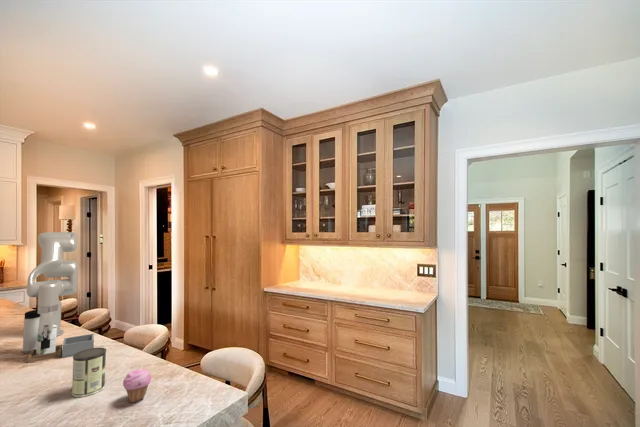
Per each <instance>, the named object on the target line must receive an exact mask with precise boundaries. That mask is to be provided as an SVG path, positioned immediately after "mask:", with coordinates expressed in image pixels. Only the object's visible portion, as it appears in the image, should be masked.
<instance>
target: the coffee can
mask: <svg viewBox="0 0 640 427" xmlns="http://www.w3.org/2000/svg"><path fill="white" fill-rule="evenodd" d="M106 353H107V348H105V347H94V348H90V349H86V350H82V351H79V352H77V353H75V354H74V355H73V356H72V380H71V381H72V382H71V383H72V386H71V388H72V389H71V395H72V397H74V398H81V397H82V398H83V397H88V396H92V395H94V394H97V393H99V392H100V391H103V390H104V388H105V387H106V357H107V356H106V355H107V354H106Z"/></svg>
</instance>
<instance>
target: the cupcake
mask: <svg viewBox="0 0 640 427" xmlns="http://www.w3.org/2000/svg"><path fill="white" fill-rule="evenodd" d="M122 381H123V382H122V387H124V389H125V390H126V394H127V398H128V400H129V402H130V403H136V402H138V401H140V400H143V399H144V397H146V393H147V390H148V386H149V384H151V381H152V375H151V373H150V371H149V370H147V369H144V368H143V369H142V368H141V369H134V370H132V371H129V372H128V374H126V377H124V379H123V380H122Z"/></svg>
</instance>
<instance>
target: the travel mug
mask: <svg viewBox="0 0 640 427" xmlns="http://www.w3.org/2000/svg"><path fill="white" fill-rule="evenodd" d="M23 317H24V318H23V320H24V321H23V334H22V335H23V337H22V339H23V340H22V353H23V354H30V352H31V350H33V349H36V347H37V334H38V326H39V320H40V314H38V308H36V309H35V310H34V309H33V310H29V311H26V312H24V316H23Z"/></svg>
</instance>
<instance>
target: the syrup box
mask: <svg viewBox="0 0 640 427" xmlns="http://www.w3.org/2000/svg"><path fill="white" fill-rule="evenodd" d="M38 333H39V326H38ZM43 333H44V330H43ZM47 333H49V332H47ZM56 334H57V325H53V330H52V333H50V348H46V349H41V340H42V334H40V335H38V334H37V347H36V355H42V354H47V353H53V352H56V351H55V350H56V346H57V336H56ZM36 355H35V356H36Z"/></svg>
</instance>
